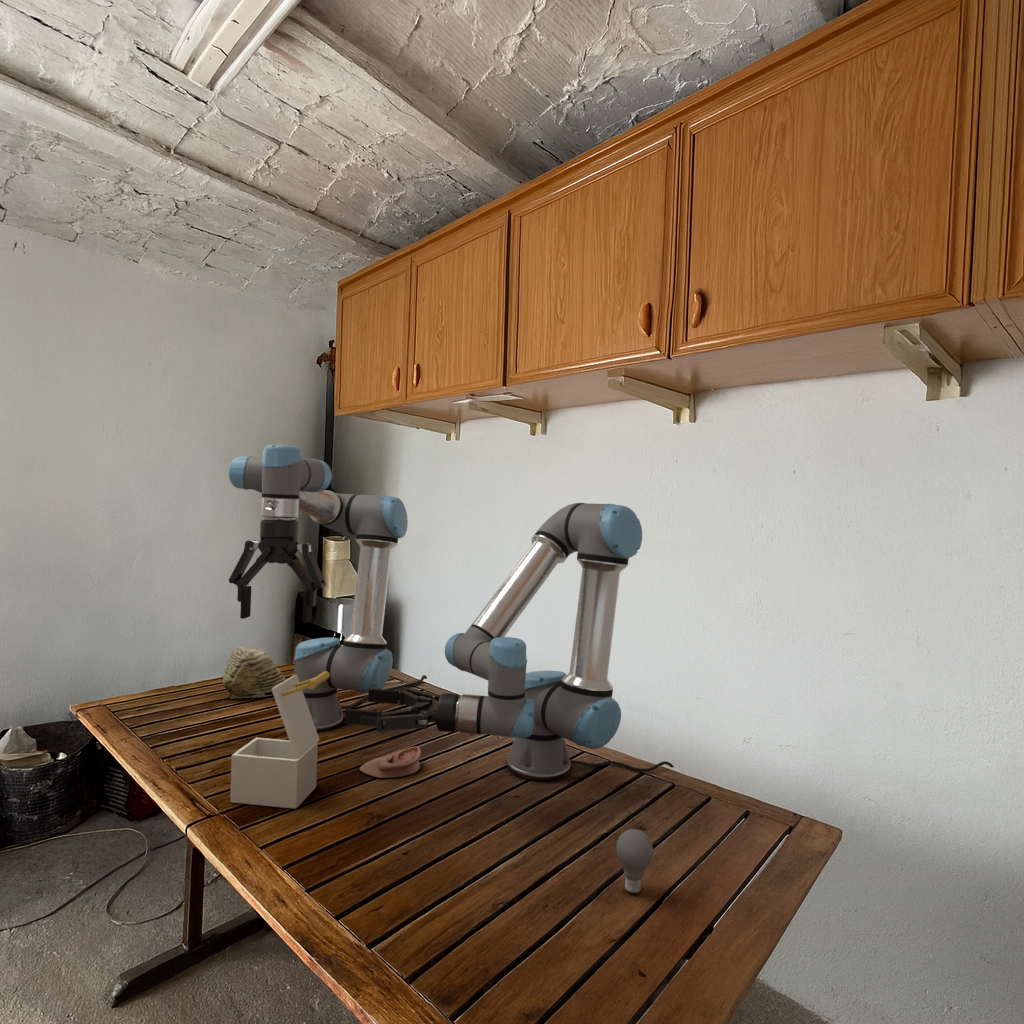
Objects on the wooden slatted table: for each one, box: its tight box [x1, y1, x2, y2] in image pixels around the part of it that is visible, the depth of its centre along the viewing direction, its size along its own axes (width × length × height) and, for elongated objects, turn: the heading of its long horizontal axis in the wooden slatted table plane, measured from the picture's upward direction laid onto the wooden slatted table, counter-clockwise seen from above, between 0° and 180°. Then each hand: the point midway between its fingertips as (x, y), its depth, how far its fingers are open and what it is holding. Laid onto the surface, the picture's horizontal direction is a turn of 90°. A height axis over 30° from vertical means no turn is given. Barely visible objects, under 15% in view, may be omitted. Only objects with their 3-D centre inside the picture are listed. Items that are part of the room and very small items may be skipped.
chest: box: [229, 737, 319, 810], centre depth 134 cm, size 14×10×10 cm
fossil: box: [222, 646, 286, 699], centre depth 198 cm, size 9×18×15 cm, turn 132°
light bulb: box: [615, 828, 654, 894], centre depth 106 cm, size 6×6×10 cm
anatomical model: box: [359, 746, 422, 779], centre depth 149 cm, size 13×4×12 cm
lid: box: [272, 671, 330, 759], centre depth 133 cm, size 15×10×9 cm
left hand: (275, 619), depth 133 cm, fingers open, 13 cm apart
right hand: (357, 705), depth 132 cm, fingers open, 13 cm apart
